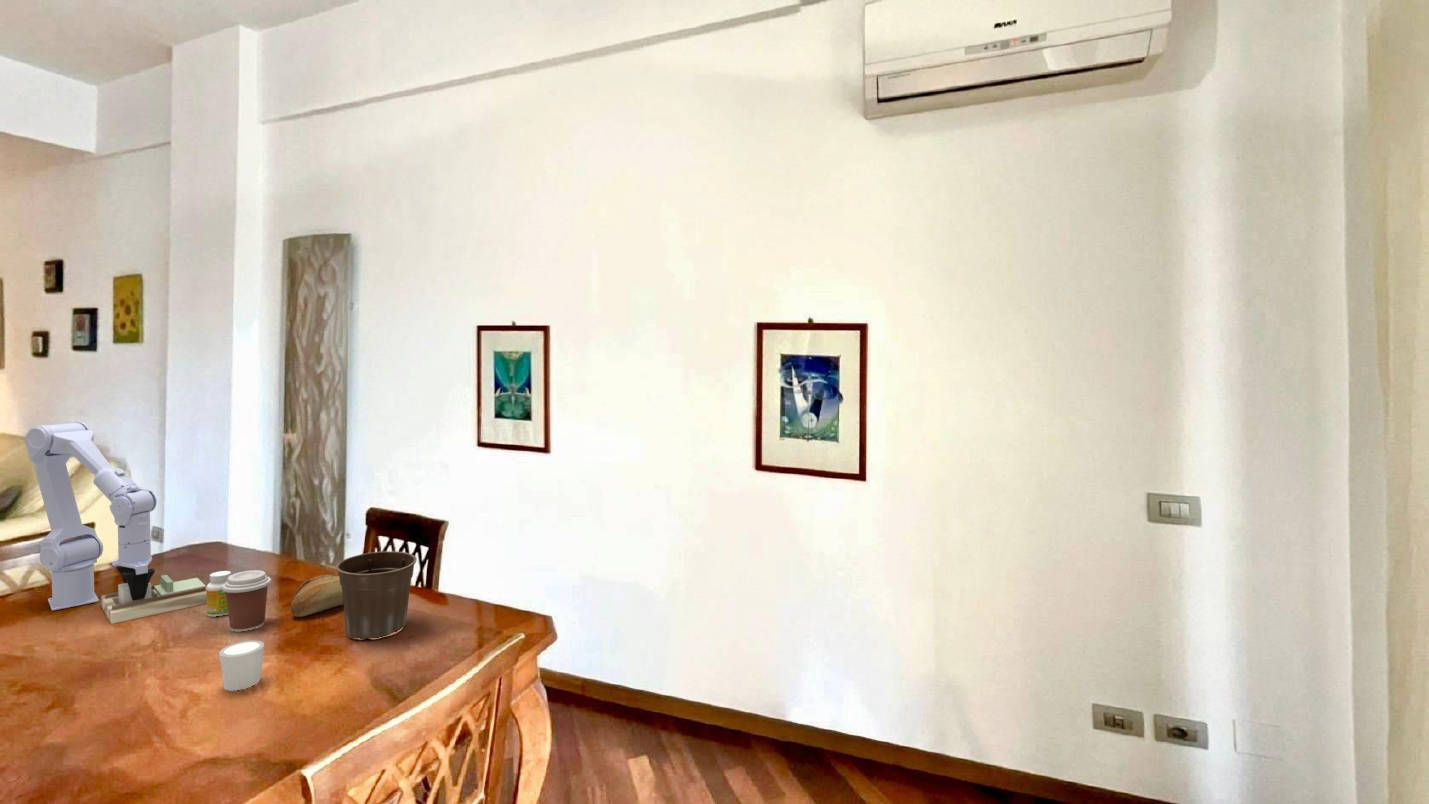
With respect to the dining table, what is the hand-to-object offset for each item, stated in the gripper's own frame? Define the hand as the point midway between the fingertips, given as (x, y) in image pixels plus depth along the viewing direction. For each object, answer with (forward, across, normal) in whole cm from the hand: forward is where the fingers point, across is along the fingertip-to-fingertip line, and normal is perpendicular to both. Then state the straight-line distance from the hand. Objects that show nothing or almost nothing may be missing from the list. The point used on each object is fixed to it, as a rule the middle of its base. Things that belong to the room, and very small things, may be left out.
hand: (135, 596), depth 151 cm
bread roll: (+3, +32, +29) cm, 43 cm away
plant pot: (+3, +54, +32) cm, 63 cm away
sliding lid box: (+3, 0, +4) cm, 5 cm away
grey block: (+2, 0, 0) cm, 2 cm away
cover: (0, 0, +8) cm, 8 cm away
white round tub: (+3, +59, +5) cm, 59 cm away
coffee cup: (+3, +30, +14) cm, 34 cm away
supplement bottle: (+3, +17, +12) cm, 22 cm away
